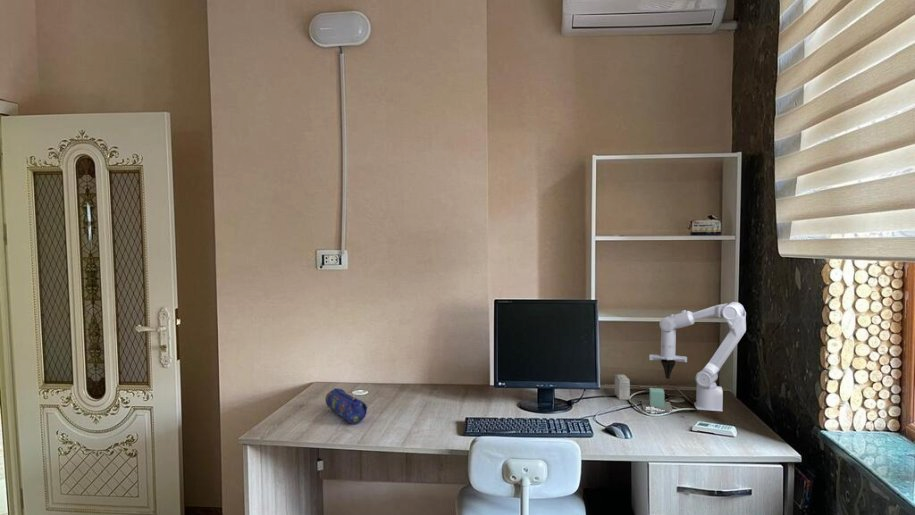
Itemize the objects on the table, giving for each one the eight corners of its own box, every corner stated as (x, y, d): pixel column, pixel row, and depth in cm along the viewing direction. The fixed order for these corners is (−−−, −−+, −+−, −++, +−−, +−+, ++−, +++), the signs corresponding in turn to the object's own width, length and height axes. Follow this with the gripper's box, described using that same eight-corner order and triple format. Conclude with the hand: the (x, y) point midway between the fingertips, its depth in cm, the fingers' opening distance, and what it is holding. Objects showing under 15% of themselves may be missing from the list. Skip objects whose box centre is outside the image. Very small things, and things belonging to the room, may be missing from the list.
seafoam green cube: (662, 403, 227) (663, 388, 226) (664, 407, 222) (664, 392, 221) (649, 402, 228) (649, 387, 227) (650, 406, 223) (650, 391, 222)
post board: (669, 403, 229) (669, 392, 228) (672, 412, 218) (673, 400, 218) (641, 401, 231) (641, 390, 231) (643, 410, 221) (643, 398, 220)
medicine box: (629, 400, 234) (630, 379, 233) (619, 400, 234) (619, 379, 233) (624, 394, 242) (624, 374, 241) (614, 394, 242) (614, 374, 241)
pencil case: (368, 422, 209) (368, 397, 209) (347, 427, 204) (346, 402, 204) (344, 406, 227) (344, 383, 227) (324, 411, 223) (323, 387, 222)
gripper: (650, 346, 229) (649, 379, 230) (688, 348, 226) (687, 381, 227) (649, 343, 236) (648, 374, 237) (685, 344, 233) (685, 377, 234)
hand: (667, 377), depth 233 cm, fingers closed
